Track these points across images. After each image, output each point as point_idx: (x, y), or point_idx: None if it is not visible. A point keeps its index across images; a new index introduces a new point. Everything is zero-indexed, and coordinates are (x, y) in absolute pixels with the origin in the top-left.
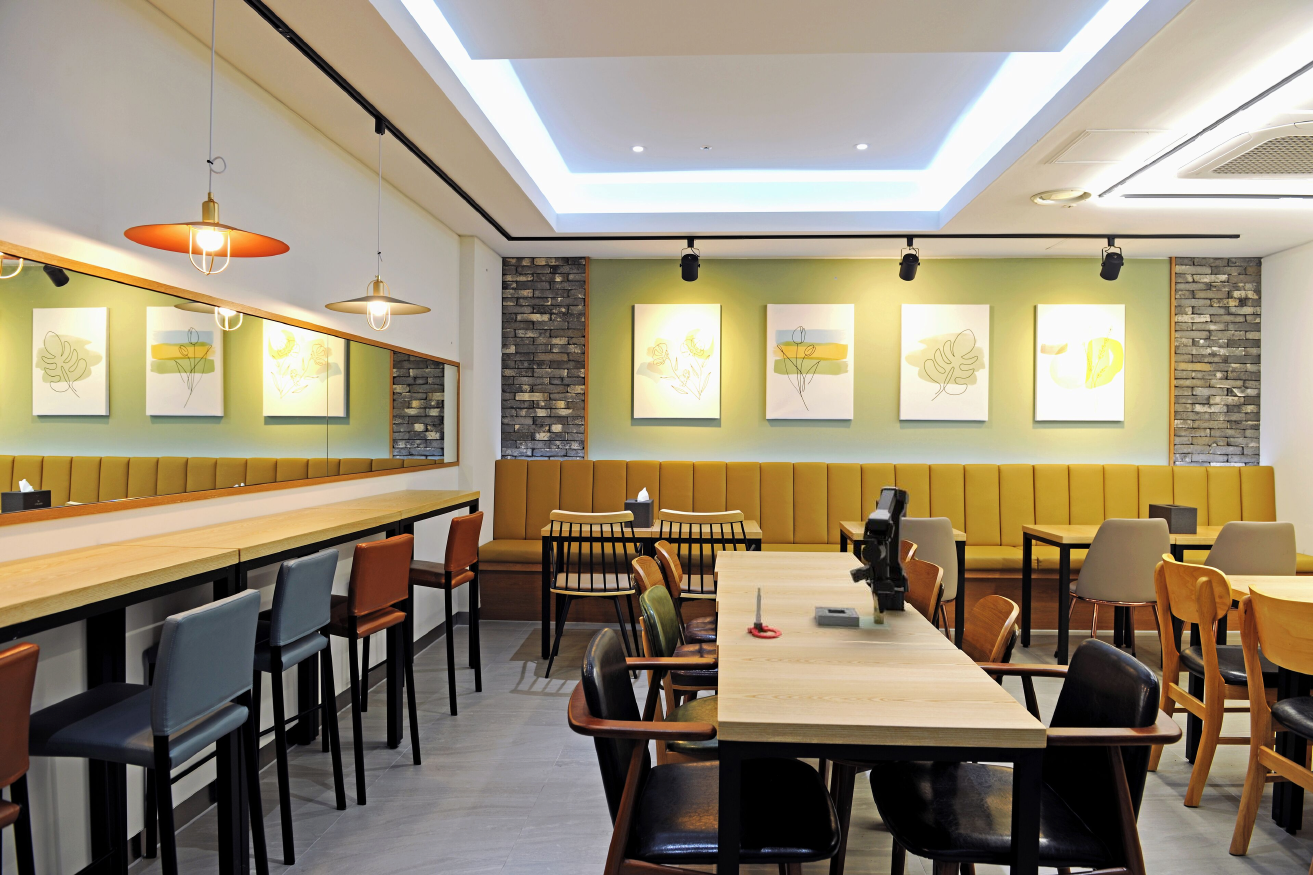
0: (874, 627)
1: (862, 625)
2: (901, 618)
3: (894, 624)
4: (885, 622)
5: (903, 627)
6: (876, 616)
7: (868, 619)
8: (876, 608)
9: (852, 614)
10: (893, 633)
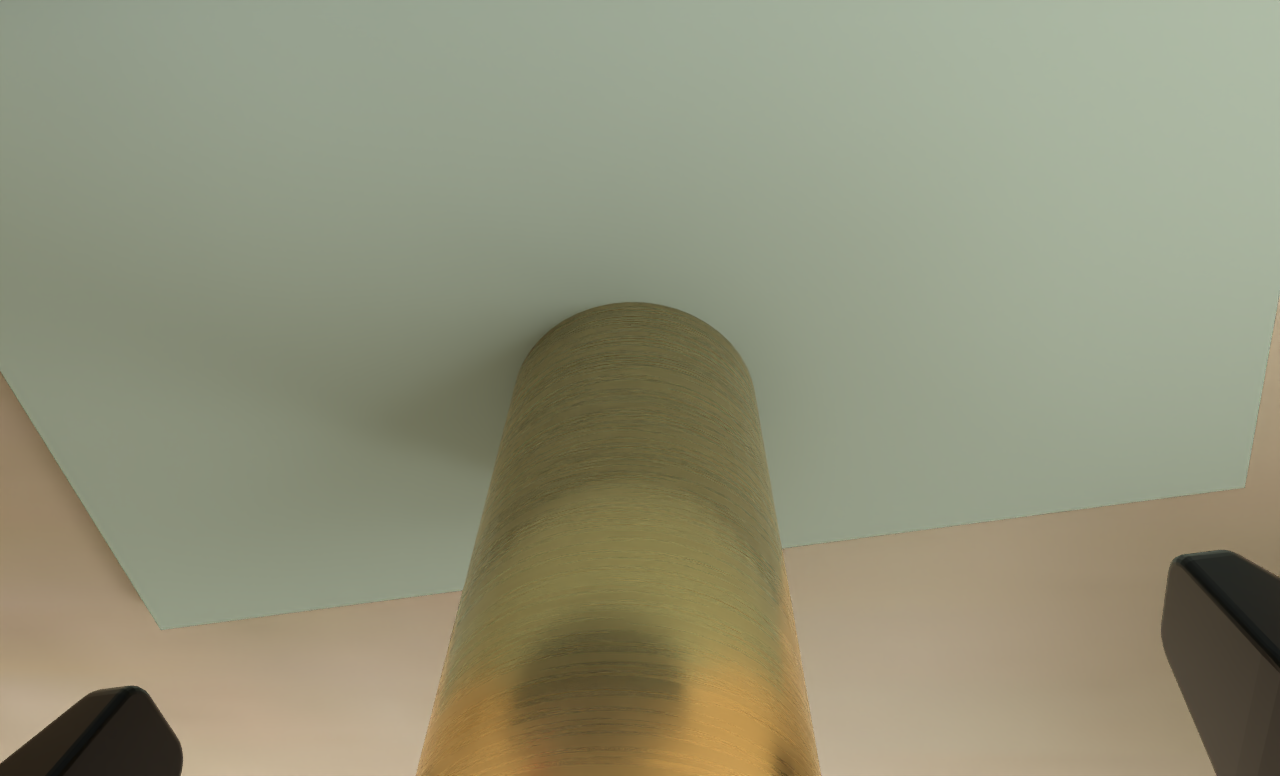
0: (123, 334)
1: (147, 24)
2: None
3: None
4: None
5: None
6: (498, 475)
7: (967, 160)
8: (451, 659)
9: None
10: (10, 632)
